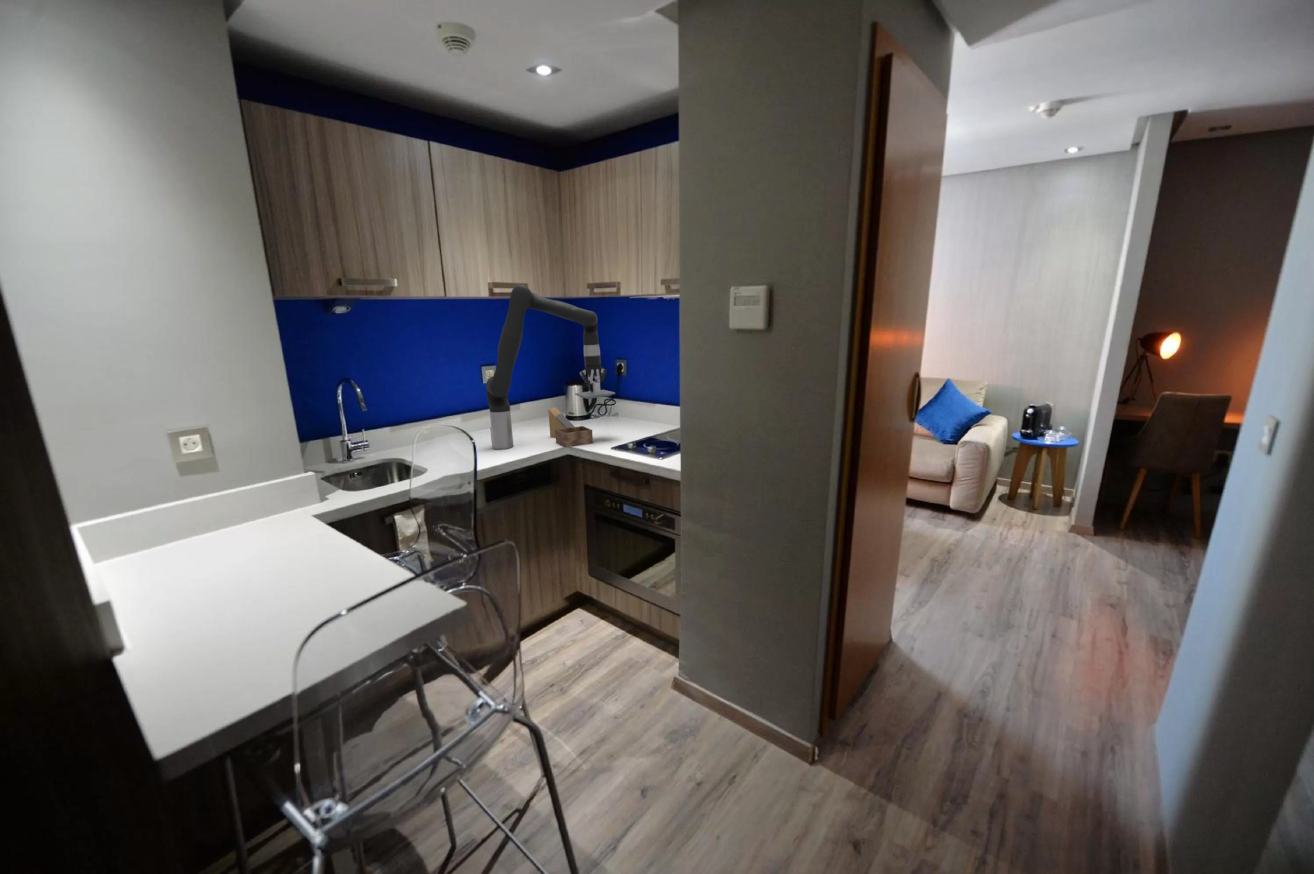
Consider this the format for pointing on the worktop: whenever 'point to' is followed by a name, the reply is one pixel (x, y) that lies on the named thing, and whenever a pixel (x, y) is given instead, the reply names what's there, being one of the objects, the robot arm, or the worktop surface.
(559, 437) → the box
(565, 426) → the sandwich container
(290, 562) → the worktop surface
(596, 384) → the lid
